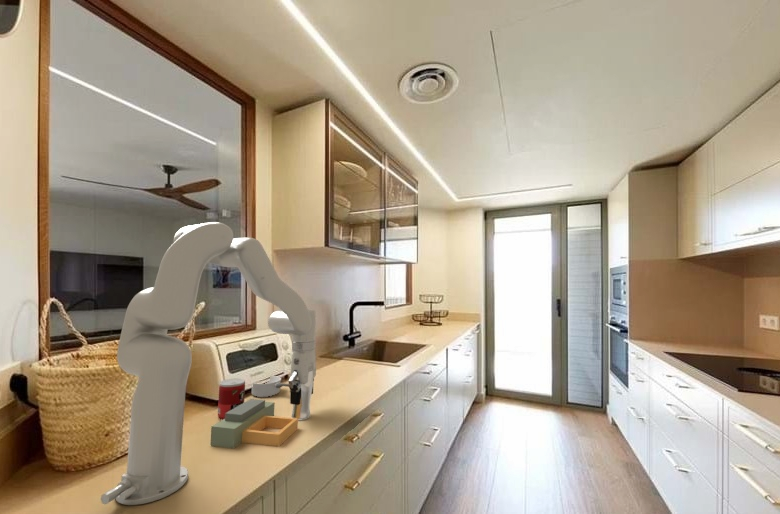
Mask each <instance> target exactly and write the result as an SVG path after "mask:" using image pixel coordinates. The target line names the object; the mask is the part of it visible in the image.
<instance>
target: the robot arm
mask: <svg viewBox="0 0 780 514" xmlns="http://www.w3.org/2000/svg"><path fill="white" fill-rule="evenodd" d="M208 264H210V265H215V266H219V267H224V268H238V270H239V272H240V273H241V275H242V277H243V278H244V280H245V282H246V283H247V285H248V287H249V288H250V291H251V292H252V294H254V295H255V296H256V297H258V298H259V299H262V300H264V301H265V302H269V303H270V304H272V305H274V306H275V307H277V308H278V310H275V311H273V312H272V313H271V314H270V316H269V317H268V320H267V325H268V328H269V329H270V330H271V331H272V332H273V333H276V334H280V335H292V336H291V337H292V339H291V353H292V357H291V366H290V377H289V379H288V384H289V387H288V388H289V392H290V394H289V395H290V396H289V397H290V398H289V403H290V405H293V404H295V405H299V404H300V396H301V391H299V390H300V387H301V384H306V383H307V382H308V374H309V373H308V372H309V371H311V370H313V382H314V381H315V377H316V375H317V363H316V360H317V358H316V352H315V351H316V322H317V319H316V317H317V314H316V311H315V310H314V309H312V308H309V307H307V305H306V302H305V301H304V300H303V298H302V297H301V296H300V295H299V294H298V293H297V291H295V290H294V289H293V288H292V287H290V285H288V284H287V283H285V282H284V281H283V280H282V279H281V278H280V276H279V275H278V272H277V271H276V269H275V266H273V264H272V262H271V259H270V257H269V255H268V254H267V252H266V249H265V248H264V246H263V245H262V244H261V242H260V241H259V240H257V239H256V238H253V237H247V236H246V237H235V238H234V232H233V230H232V228H231V227H230V226H229V225H227V224H225V223H223V222H218V221H211V222H204V223H203V222H202V223H200V224H199V223H198V224H193V225H187V226H183V227H181V228H180V229H178V231H176V233H175V234H174V236H173V242H172V244H171V245H170V246H169V247H168V248H167V250H166V251H165V253H164V255H163V257H162V259H161V261H160V264H159V268H158V272H157V274H156V279H155V282H154V284H153V285H154V286H152V287H147V288H145V289H142V290H141V291H139V292H138V293H136V294H135V295H134V296H133V298H132V299H131V300H130V302H129V304H128V305H127V309H126V311H125V315H124V320H123V324H122V328H121V332H120V337H119V342H118V346H117V351H116V352H117V353H116V359H117V363H118V366H119V368H120V369H121V370H123V372H125V373H127V374H129V375H131V376H135V377H138V382H137V384H136V387H135V391H134V393H133V397H132V401H131V402H132V403H131V411H130V423H129V425H130V427H129V439H128V449H127V450H128V452H127V464H126V473H123V474H122V475H121V478H120V481H119V483H117V484H116V486H115V487H112V488H111V489H110V490H108V491H106V492H104V493H103V494H102V495H101V496H100V502H101V503H102V504H103V505H108V504H109V503H111V502H112V501H114V500H116V502H117V503H119V504H122V505H124V506H125V505H127V506H136V505H137V506H138V505H143V504H144V505H145V504H149V503H152V502H153V503H154V502H156V501H158V500H162V499H164V498H166V497H168V496H170V495H172V494H174V493H175V492H177V491H178V490H179V489H181V488H182V487H183V486H184V485H185V484H186V482H187V481H188V479H189V471H188V469H187V468H186V467H185V466H183V465H181V464H182V449H183V437H184V436H183V434H184V418H185V417H184V416H185V403H186V402H185V401H186V390H187V389H186V388H187V383H188V377H189V374H190V370H191V368H192V367H191V366H192V361H193V359H192V358H193V355H192V349H191V348H190V346H189V345H188V344H187V342H186V341H185V340H183V339H181V338H179V337H175V336H171V335H167V334H168V330H170V331H171V330H179V329H181V328H184V327H186V326H187V325H188V324H189V323H190V322H191V320H192V318H193V316H194V313H195V307H196V303H197V302H196V301H197V299H198V298H197V297H198V291H199V287H200V281H201V278H202V275H203V274H202V273H203V271H204V269H205V267H206V265H208ZM297 376H298V378H299V381H295V379H296V378H297ZM295 384H298V386H296V385H295ZM313 394H314V387H313V388H312V394H311V395H313Z"/></svg>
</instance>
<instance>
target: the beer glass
mask: <svg viewBox="0 0 780 514" xmlns="http://www.w3.org/2000/svg"><path fill="white" fill-rule="evenodd" d="M308 373H309V374H308V382H307V383H306V384H301V387H300V390H299V391H301V396H300V404H299V405H295V404H292V413H291V416H290V418H298V422H299V421H307V420H308V419H310V418H311V408H310V407H311V406H310V405H311V397H312V395H313V394H312V388H313V389H314V381H313V370H311V371H309V372H308ZM295 381H299V378H298V376H297V378H296V379H295ZM295 385H296V386H298V384H295Z"/></svg>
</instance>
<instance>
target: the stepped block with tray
mask: <svg viewBox="0 0 780 514" xmlns="http://www.w3.org/2000/svg"><path fill="white" fill-rule="evenodd" d="M275 404H276V403H275V402H274V401H273V402H272V401H266V400H265V399H257V398H256V399H255V398H249V399H247V401H244V403H243V404H241V405H239V406H237V407H236V408H234V409H232V410H230V411H228V412H227V413H225V419H223V420H221V419H220V421H218V422H216V423H215V424H213V425H211V427H210V430H211V431H210V443H209V444H210V445H211V447H217V446H219V447H218V448H225V449H226V447H227V449H235V448H236V447H237V446H239V445H241V444H242V443H245V444H254V445H263V446H264V445H265V446H270V447H271V446H273V447H280V445H282V444H283V443H284V442H285V441H286V440H287V439H288V438H289V437H291V436H292V435H293V434H294V433H295V432H296V431H297V430H298V427H299V425H298V423H299V421H298V418H291V417H288V416H287V417H285V416H275ZM265 428H269V429H270V428H271V429H280V430H279V431H278V432H272V431H267V430H266V431H265V430H264V429H265Z"/></svg>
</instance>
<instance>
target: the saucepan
mask: <svg viewBox="0 0 780 514" xmlns="http://www.w3.org/2000/svg"><path fill="white" fill-rule="evenodd" d="M269 376H270V381H269V382H267V383H265V384H257V383H254V382H251V384H252V383H253V387H252V386H251V395H252V396H255V397H256V396H257V397H256V398H269V397H268V396H270V397H273V396H272V395H274V396H276V395H277V394H279V393H280V392H281V388H283V387H288V388H289V383H286V382H285V383H283V382H281V381H282V376H277V375H269ZM275 394H276V395H275Z"/></svg>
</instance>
